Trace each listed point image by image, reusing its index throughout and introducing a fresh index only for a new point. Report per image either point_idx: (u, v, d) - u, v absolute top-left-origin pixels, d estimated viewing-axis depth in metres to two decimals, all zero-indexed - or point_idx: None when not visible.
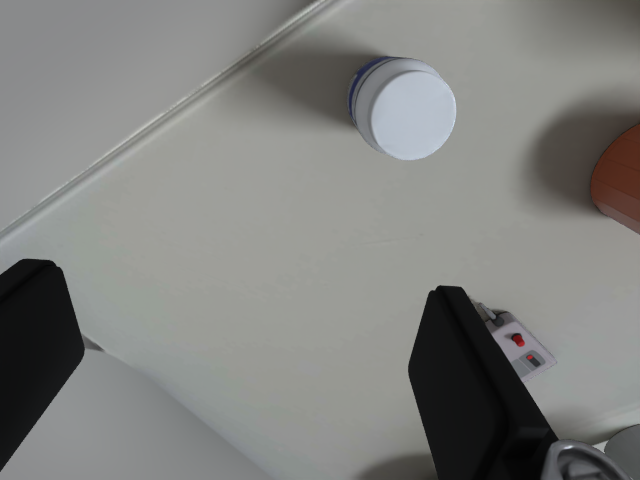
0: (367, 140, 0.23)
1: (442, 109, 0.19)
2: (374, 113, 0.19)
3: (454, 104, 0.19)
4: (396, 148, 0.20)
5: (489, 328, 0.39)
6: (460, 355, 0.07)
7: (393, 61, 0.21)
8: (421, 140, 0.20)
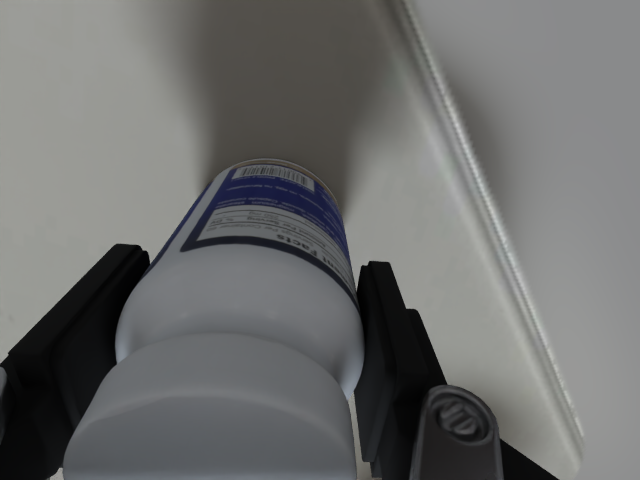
0: (141, 293, 0.07)
1: None
2: (213, 400, 0.05)
3: None
4: (98, 466, 0.05)
5: None
6: (373, 318, 0.08)
7: (360, 330, 0.08)
8: None
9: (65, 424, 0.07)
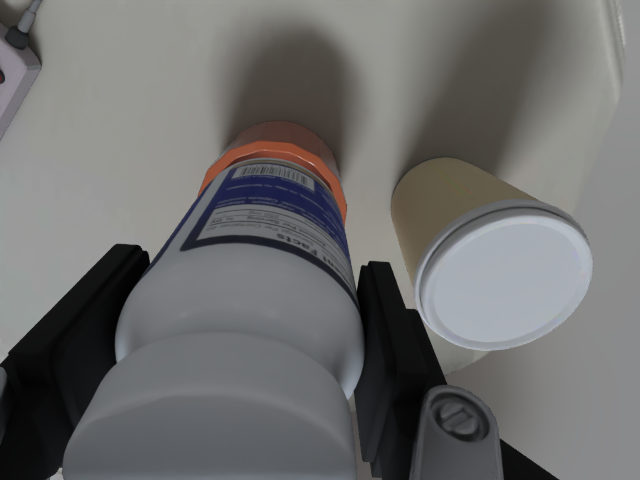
0: (141, 292, 0.07)
1: None
2: (212, 400, 0.05)
3: None
4: (98, 466, 0.05)
5: None
6: (372, 318, 0.08)
7: (361, 330, 0.08)
8: None
9: (65, 424, 0.07)
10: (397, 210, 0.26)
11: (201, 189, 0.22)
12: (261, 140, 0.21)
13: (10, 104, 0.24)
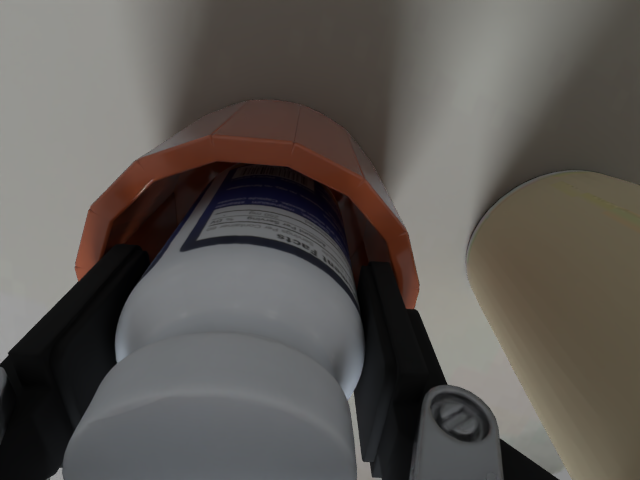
0: (141, 293, 0.07)
1: None
2: (213, 399, 0.05)
3: None
4: (98, 466, 0.05)
5: None
6: (372, 318, 0.08)
7: (361, 330, 0.08)
8: None
9: (65, 424, 0.07)
10: (496, 272, 0.14)
11: (81, 251, 0.09)
12: (218, 135, 0.08)
13: None
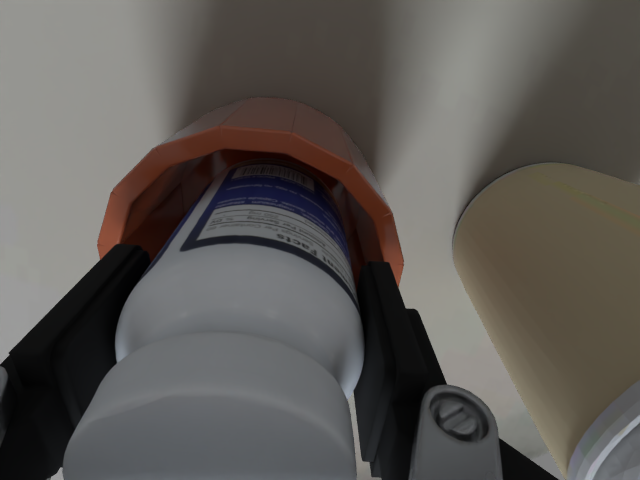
0: (141, 292, 0.07)
1: None
2: (213, 399, 0.05)
3: None
4: (98, 466, 0.05)
5: None
6: (372, 318, 0.08)
7: (360, 330, 0.08)
8: None
9: (66, 424, 0.07)
10: (477, 255, 0.15)
11: (103, 230, 0.10)
12: (225, 126, 0.09)
13: None
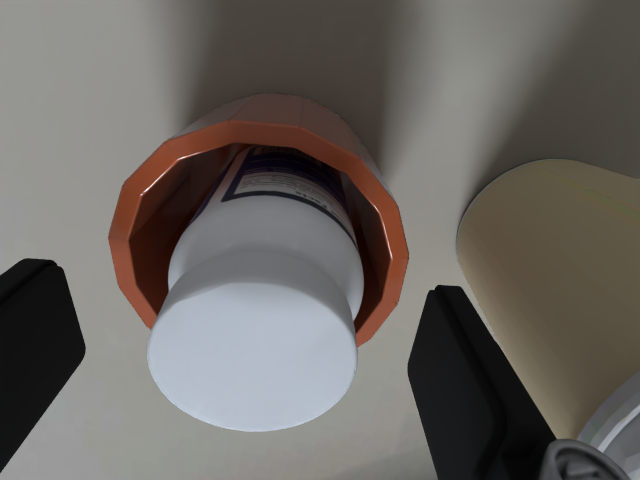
0: (193, 232, 0.09)
1: (277, 411, 0.09)
2: (260, 286, 0.07)
3: (288, 426, 0.09)
4: (173, 342, 0.08)
5: None
6: (459, 355, 0.07)
7: (360, 267, 0.10)
8: (204, 386, 0.08)
9: None
10: (481, 250, 0.15)
11: (114, 223, 0.11)
12: (235, 120, 0.09)
13: None
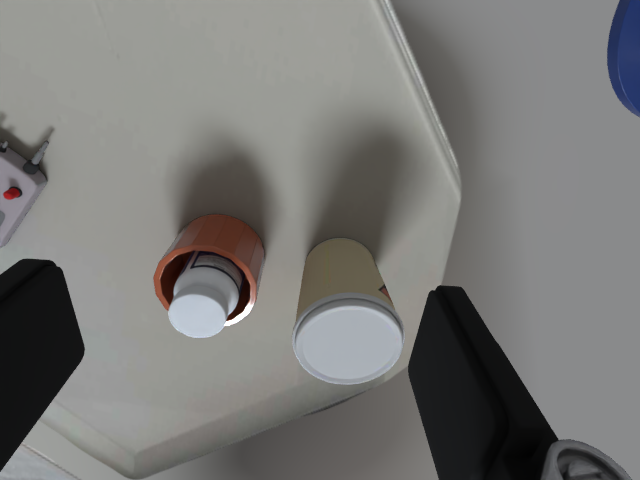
0: (181, 278, 0.31)
1: (205, 330, 0.30)
2: (196, 295, 0.29)
3: (209, 336, 0.31)
4: (175, 309, 0.29)
5: (16, 161, 0.33)
6: (460, 355, 0.07)
7: (235, 288, 0.32)
8: (183, 322, 0.30)
9: None
10: (302, 278, 0.37)
11: (155, 273, 0.32)
12: (193, 244, 0.31)
13: (25, 207, 0.35)
